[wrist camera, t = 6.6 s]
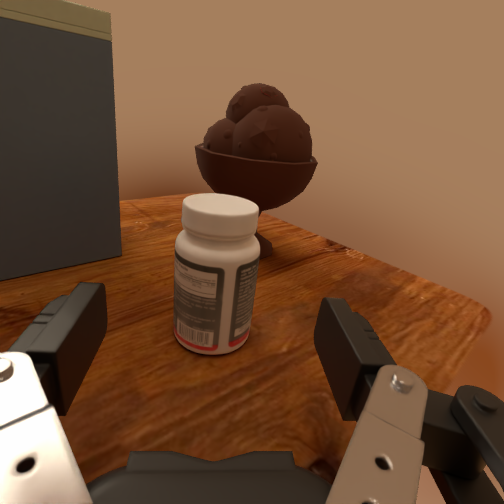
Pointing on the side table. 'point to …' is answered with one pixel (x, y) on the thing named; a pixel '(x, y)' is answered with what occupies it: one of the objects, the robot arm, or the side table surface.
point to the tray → (59, 16)
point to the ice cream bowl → (258, 152)
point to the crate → (56, 150)
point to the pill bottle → (215, 272)
